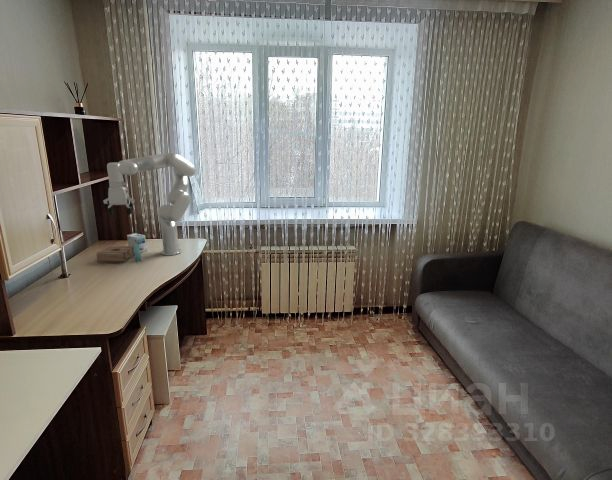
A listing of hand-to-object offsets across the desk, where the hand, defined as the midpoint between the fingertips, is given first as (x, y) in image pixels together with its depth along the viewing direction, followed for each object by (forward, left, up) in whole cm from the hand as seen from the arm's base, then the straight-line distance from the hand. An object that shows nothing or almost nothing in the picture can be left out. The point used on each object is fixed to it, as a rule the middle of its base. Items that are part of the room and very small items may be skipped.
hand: (120, 214), depth 229 cm
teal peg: (-7, +3, -31) cm, 32 cm away
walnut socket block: (-10, -12, -31) cm, 34 cm away
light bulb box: (-27, -7, -31) cm, 42 cm away
